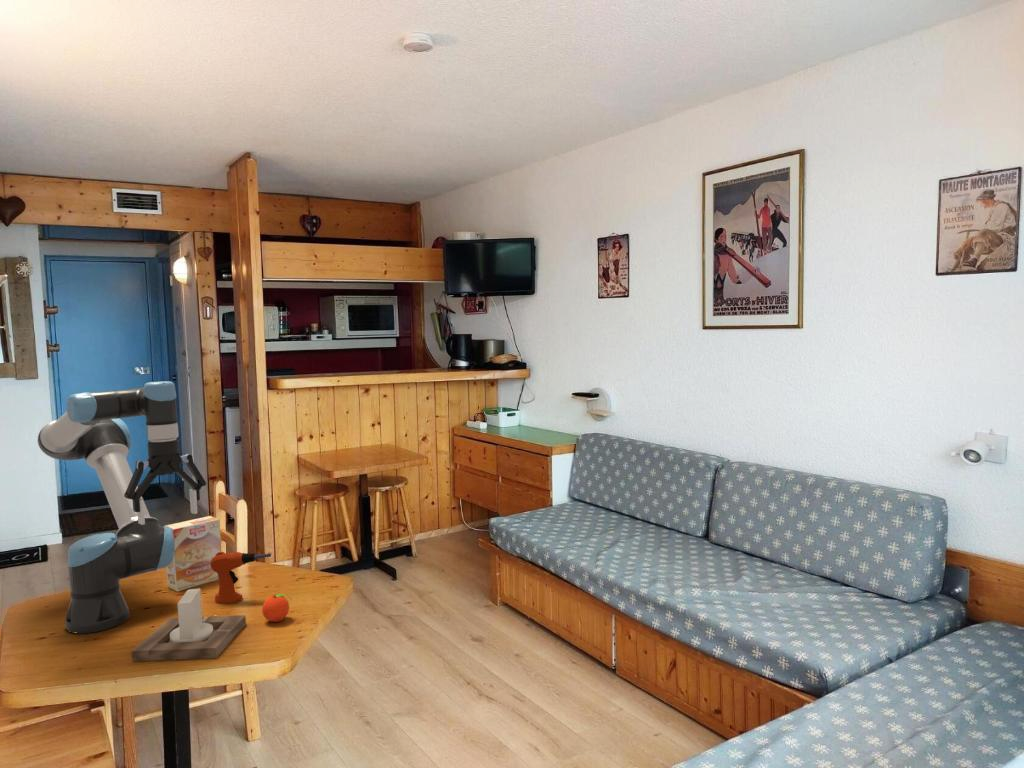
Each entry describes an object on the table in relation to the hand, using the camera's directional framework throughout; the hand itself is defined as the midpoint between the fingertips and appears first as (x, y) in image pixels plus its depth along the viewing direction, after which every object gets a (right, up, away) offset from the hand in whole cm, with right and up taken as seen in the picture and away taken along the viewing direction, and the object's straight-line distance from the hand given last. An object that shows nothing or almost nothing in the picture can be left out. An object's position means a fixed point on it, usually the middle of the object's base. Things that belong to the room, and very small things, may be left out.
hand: (168, 518), depth 193 cm
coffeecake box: (-8, -27, +34) cm, 44 cm away
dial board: (+11, -29, -11) cm, 33 cm away
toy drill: (+14, -27, +17) cm, 35 cm away
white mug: (+11, -28, -9) cm, 31 cm away
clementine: (+29, -28, +1) cm, 40 cm away
